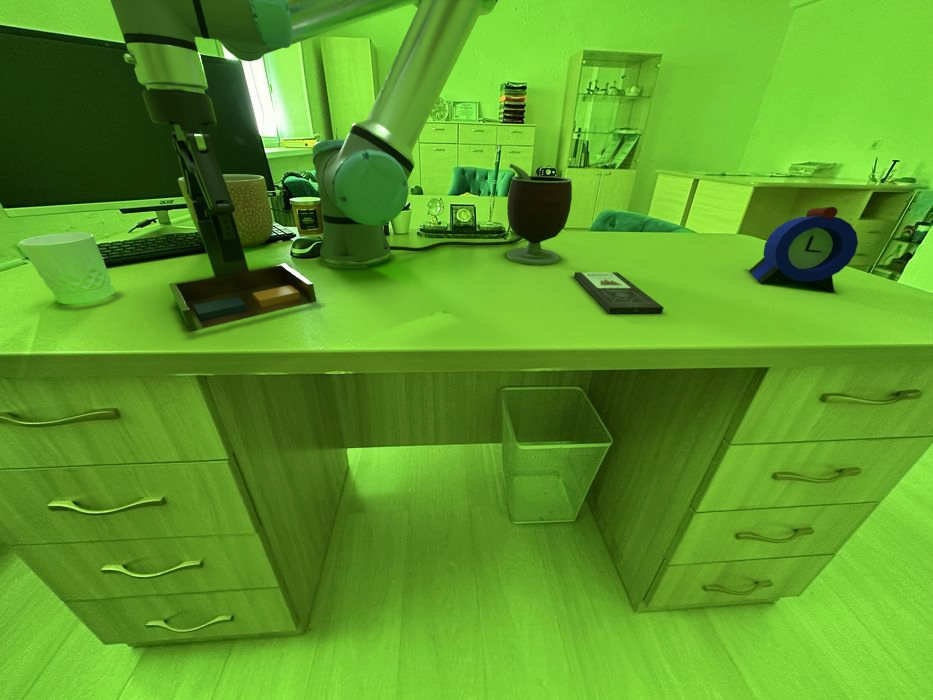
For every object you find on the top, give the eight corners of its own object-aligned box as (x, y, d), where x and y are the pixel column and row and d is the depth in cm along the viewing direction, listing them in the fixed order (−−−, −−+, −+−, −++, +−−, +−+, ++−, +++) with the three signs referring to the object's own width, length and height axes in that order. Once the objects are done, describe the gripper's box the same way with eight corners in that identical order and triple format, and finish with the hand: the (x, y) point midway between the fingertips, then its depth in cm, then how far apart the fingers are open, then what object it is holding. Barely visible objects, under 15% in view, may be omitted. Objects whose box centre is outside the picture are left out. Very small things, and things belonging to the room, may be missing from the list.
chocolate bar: (610, 307, 59) (574, 272, 75) (608, 313, 60) (574, 276, 75) (663, 307, 60) (617, 272, 75) (662, 312, 60) (616, 276, 76)
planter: (224, 258, 81) (201, 183, 74) (187, 246, 89) (162, 177, 81) (293, 243, 94) (279, 177, 86) (255, 233, 102) (239, 173, 94)
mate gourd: (536, 247, 96) (546, 161, 86) (574, 260, 86) (591, 165, 76) (487, 254, 89) (491, 161, 79) (522, 270, 79) (532, 166, 69)
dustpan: (289, 283, 68) (273, 213, 62) (317, 305, 60) (302, 227, 54) (177, 306, 58) (145, 225, 52) (192, 336, 50) (156, 244, 44)
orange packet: (292, 291, 63) (290, 285, 62) (300, 298, 60) (299, 291, 60) (253, 299, 59) (251, 292, 59) (261, 307, 57) (259, 300, 56)
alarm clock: (761, 284, 74) (796, 205, 67) (746, 267, 84) (775, 197, 77) (836, 294, 70) (882, 211, 63) (811, 275, 80) (849, 202, 73)
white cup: (47, 314, 55) (7, 247, 50) (66, 296, 61) (32, 234, 56) (114, 305, 58) (83, 241, 53) (126, 289, 64) (99, 230, 59)
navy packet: (240, 302, 58) (238, 295, 58) (247, 311, 56) (244, 303, 55) (195, 312, 55) (192, 305, 54) (200, 321, 52) (197, 314, 51)
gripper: (132, 93, 55) (183, 238, 65) (150, 79, 38) (213, 275, 49) (192, 97, 59) (230, 233, 69) (230, 87, 43) (273, 265, 53)
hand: (223, 251), depth 59 cm, fingers open, 13 cm apart
